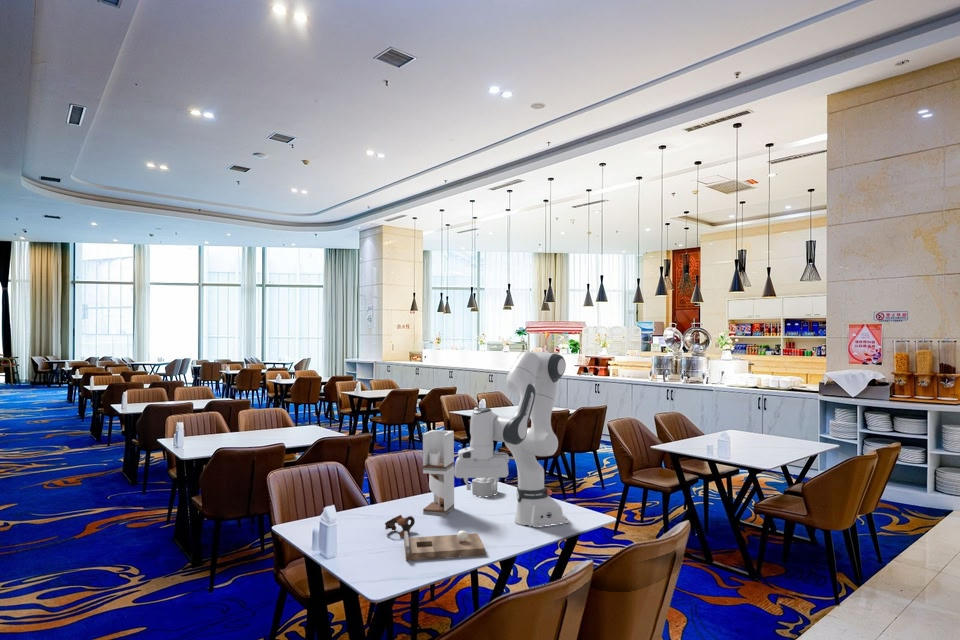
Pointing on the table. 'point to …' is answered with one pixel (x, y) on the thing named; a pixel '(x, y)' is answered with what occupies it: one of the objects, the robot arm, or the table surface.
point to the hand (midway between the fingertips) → (481, 489)
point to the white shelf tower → (439, 470)
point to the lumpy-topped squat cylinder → (483, 487)
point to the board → (442, 547)
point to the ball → (462, 536)
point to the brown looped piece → (400, 524)
